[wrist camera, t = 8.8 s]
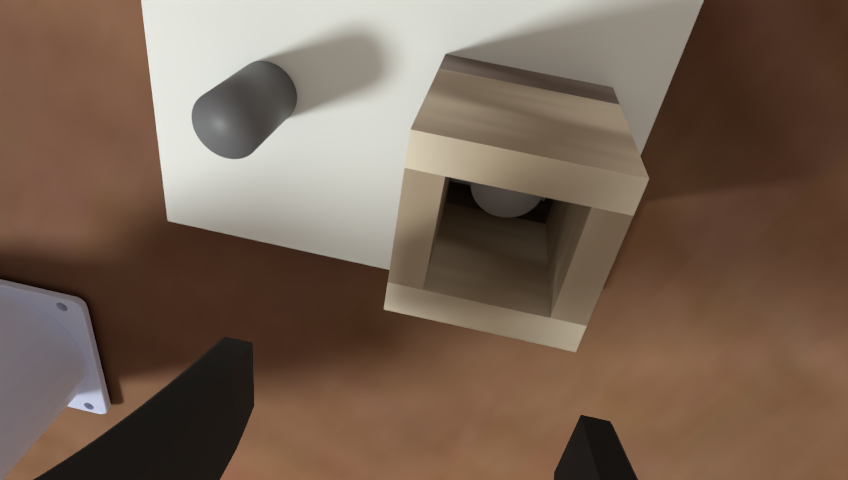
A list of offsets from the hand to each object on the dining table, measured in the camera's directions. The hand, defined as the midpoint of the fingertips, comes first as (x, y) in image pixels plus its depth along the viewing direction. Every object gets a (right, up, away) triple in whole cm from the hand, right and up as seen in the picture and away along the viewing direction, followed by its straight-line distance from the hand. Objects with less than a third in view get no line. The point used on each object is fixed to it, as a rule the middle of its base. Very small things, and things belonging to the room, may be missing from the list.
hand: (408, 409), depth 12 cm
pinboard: (-1, +8, +7) cm, 11 cm away
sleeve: (+3, +7, +6) cm, 9 cm away
